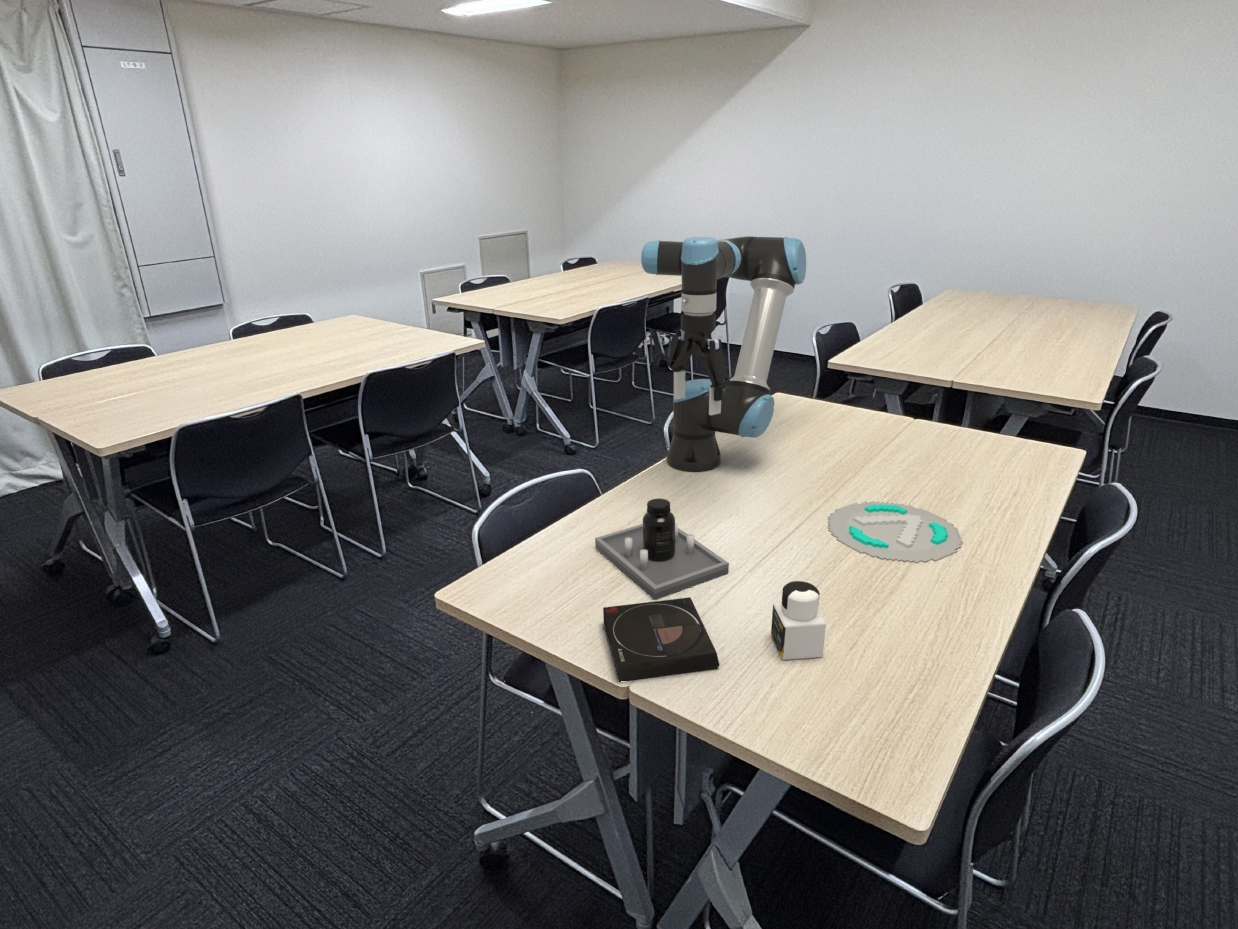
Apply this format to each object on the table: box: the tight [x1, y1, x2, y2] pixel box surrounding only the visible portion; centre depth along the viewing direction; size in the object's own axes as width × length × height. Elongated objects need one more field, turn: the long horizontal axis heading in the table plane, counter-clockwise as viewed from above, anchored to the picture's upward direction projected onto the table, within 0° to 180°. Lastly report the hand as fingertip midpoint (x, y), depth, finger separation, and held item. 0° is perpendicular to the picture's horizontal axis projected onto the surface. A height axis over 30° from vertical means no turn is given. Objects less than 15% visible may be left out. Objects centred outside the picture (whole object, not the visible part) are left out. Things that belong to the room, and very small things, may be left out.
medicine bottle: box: [770, 580, 827, 661], centre depth 121 cm, size 7×7×12 cm
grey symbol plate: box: [827, 500, 964, 564], centre depth 161 cm, size 28×28×2 cm
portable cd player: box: [602, 596, 721, 683], centre depth 124 cm, size 16×17×4 cm
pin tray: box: [594, 522, 730, 601], centre depth 150 cm, size 24×18×6 cm
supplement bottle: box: [642, 497, 676, 561], centre depth 148 cm, size 7×7×12 cm
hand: (696, 406), depth 162 cm, fingers open, 13 cm apart
